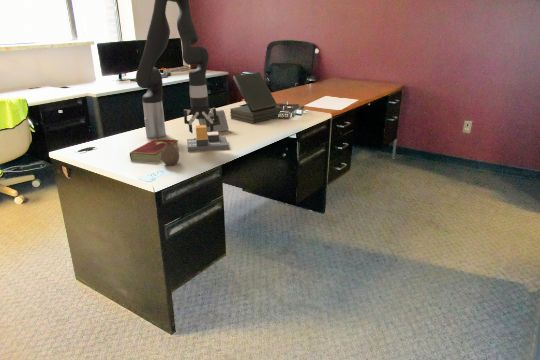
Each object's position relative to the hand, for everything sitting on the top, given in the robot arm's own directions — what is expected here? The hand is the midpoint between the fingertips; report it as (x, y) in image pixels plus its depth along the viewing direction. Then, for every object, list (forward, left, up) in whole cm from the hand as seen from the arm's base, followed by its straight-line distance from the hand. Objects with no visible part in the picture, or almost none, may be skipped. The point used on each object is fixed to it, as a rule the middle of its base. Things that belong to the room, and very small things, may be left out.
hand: (201, 132), depth 185 cm
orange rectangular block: (0, 0, -2) cm, 2 cm away
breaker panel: (+2, +4, -8) cm, 9 cm away
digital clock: (+7, +27, -8) cm, 29 cm away
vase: (-14, -18, -8) cm, 24 cm away
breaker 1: (0, 0, -5) cm, 5 cm away
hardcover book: (-21, -2, -8) cm, 22 cm away
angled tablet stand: (+34, +54, -8) cm, 64 cm away
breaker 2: (+5, +6, -5) cm, 10 cm away
